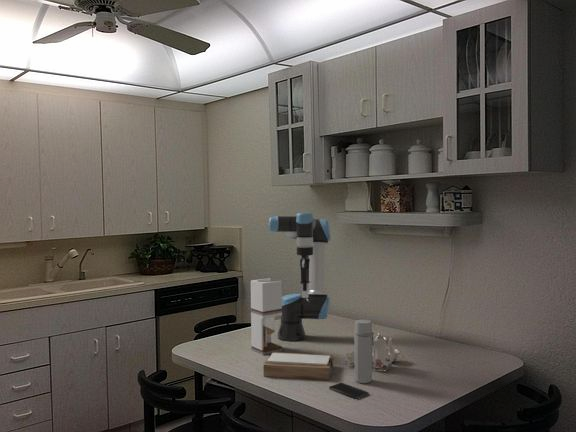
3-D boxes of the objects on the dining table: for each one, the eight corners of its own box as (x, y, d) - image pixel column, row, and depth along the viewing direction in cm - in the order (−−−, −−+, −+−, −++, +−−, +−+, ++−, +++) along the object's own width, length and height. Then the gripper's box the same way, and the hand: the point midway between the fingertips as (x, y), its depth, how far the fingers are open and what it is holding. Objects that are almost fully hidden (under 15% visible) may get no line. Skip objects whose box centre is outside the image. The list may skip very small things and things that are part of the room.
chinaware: (393, 361, 244) (391, 325, 245) (414, 368, 228) (412, 330, 229) (340, 368, 233) (338, 331, 234) (359, 376, 218) (356, 337, 219)
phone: (356, 398, 193) (327, 387, 205) (356, 401, 193) (327, 389, 205) (370, 392, 198) (341, 382, 210) (370, 395, 198) (341, 384, 210)
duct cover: (272, 354, 233) (272, 352, 233) (329, 357, 228) (329, 355, 228) (267, 362, 222) (267, 360, 222) (327, 365, 217) (327, 363, 217)
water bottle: (358, 385, 208) (358, 324, 207) (351, 378, 216) (351, 319, 215) (379, 382, 211) (379, 322, 210) (371, 376, 218) (371, 318, 217)
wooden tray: (272, 362, 237) (272, 352, 237) (333, 366, 232) (333, 355, 232) (263, 376, 220) (263, 364, 219) (328, 380, 214) (328, 368, 214)
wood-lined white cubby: (263, 355, 249) (262, 283, 248) (251, 349, 258) (250, 280, 256) (282, 350, 256) (281, 280, 255) (270, 345, 264) (269, 278, 263)
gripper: (299, 244, 243) (299, 294, 244) (294, 247, 230) (294, 300, 231) (314, 245, 241) (315, 294, 242) (310, 247, 229) (311, 300, 230)
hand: (305, 297), depth 237 cm, fingers closed
